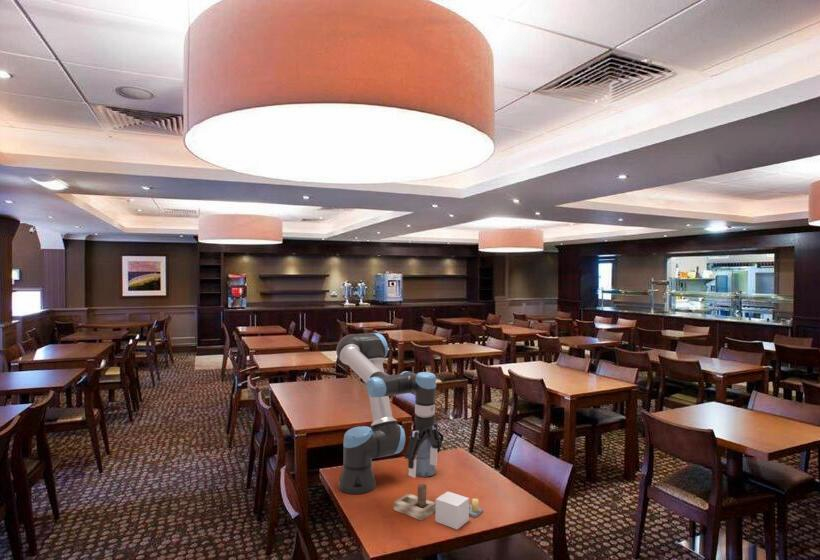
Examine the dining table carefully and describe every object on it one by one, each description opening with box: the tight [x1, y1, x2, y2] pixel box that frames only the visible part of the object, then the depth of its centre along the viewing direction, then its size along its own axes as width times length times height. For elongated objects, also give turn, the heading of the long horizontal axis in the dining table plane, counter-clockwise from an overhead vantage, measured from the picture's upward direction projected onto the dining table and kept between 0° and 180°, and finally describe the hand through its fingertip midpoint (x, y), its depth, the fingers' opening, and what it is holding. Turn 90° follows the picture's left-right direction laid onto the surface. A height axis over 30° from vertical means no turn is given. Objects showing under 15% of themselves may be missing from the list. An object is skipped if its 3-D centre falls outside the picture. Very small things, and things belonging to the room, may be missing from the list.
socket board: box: [393, 492, 436, 521], centre depth 179 cm, size 13×9×3 cm
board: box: [469, 497, 484, 519], centre depth 179 cm, size 7×6×5 cm
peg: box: [417, 483, 427, 508], centre depth 177 cm, size 3×3×10 cm
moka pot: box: [415, 430, 444, 478], centre depth 214 cm, size 10×15×20 cm, turn 107°
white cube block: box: [434, 490, 470, 530], centre depth 172 cm, size 9×8×8 cm
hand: (423, 470), depth 181 cm, fingers open, 13 cm apart
